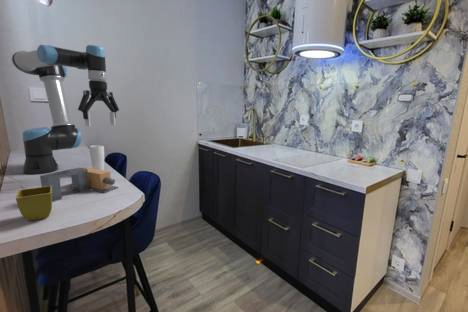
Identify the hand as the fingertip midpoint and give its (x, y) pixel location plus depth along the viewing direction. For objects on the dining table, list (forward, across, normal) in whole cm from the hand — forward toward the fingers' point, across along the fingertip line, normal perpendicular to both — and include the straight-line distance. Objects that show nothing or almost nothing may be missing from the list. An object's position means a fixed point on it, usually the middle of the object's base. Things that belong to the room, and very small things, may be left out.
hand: (101, 125), depth 120 cm
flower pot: (+27, -41, -20) cm, 53 cm away
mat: (+27, -12, -8) cm, 30 cm away
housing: (+27, -24, -8) cm, 37 cm away
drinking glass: (+27, +4, +10) cm, 29 cm away
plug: (+26, -12, -9) cm, 30 cm away
